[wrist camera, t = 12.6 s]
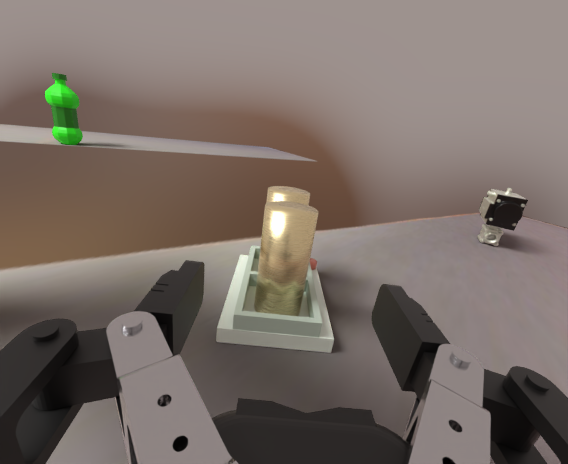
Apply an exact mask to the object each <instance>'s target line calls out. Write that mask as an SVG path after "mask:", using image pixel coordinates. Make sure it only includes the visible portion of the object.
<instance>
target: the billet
mask: <svg viewBox="0 0 568 464" xmlns="http://www.w3.org/2000/svg"><path fill="white" fill-rule="evenodd" d="M317 218H318V211H317V210H316V209H315V208H313V207H311V206H308V205H305V204H301V203H296V202H289V201H272V202H268V203H266V205H265V212H264V221H263V230H262V239H261V248H260V257H259V265H258V274H257V283H256V292H255V301H254V309H255V311H256V312H260V313H269V314H279V315H289V316H299V314H300V310H301V304H302V299H303V293H304V288H305V283H306V277H307V272H308V266H309V261H310V255H311V250H312V245H313V239H314V234H315V228H316V223H317Z"/></svg>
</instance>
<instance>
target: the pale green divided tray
mask: <svg viewBox="0 0 568 464" xmlns="http://www.w3.org/2000/svg"><path fill="white" fill-rule="evenodd" d="M260 248H261V247H260V246H251V249H250V253H249V256H248V255H240V258H239V261H238V264H237V267H236V270H235V273H234V276H233V279H232V283H231V286H230V289H229V292H228V295H227V298H226V301H225V304H224V307H223V310H222V314H221V317H220V320H219V323H218V326H217V335H216V342H221V343H232V344H242V345H253V346H263V347H274V348H284V349H295V350H305V351H316V352H326V353H331V351H332V347H333V342H334V337H333V332H332V328H331V324H330V320H329V316H328V312H327V308H326V304H325V300H324V296H323V291H322V287H321V283H320V279H319V275H318V271H317V267H316V265H317V261H316V260H315V259H312V258H310V261H309V266H308V272H307V277H306V283H305V288H304V293H303V299H302V304H301V310H300V314H299V316H289V315H279V314H269V313H260V312H256V311H255V309H254V301H255V292H256V283H257V274H258V265H259V257H260Z"/></svg>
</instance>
